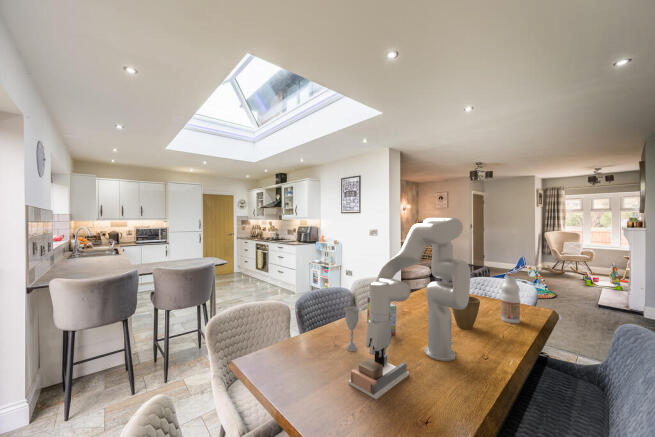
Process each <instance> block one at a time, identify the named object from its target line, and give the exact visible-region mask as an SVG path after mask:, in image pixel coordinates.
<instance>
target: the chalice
mask: <svg viewBox="0 0 655 437" xmlns="http://www.w3.org/2000/svg"><path fill="white" fill-rule="evenodd" d="M360 310H361V309H360V308H359V307H356V306H345V307H344V311H345V322H346V325H347V327H348V329H349V330H350V333H349V334H350V337H349V339H350V341H349V342H348V343H347V346H346V348H345V349H346V350H347V351H349V352H356V351H357V350H358V348H357V347H358V346H357V345H356V343H355V342H354V330H355V329H356V327H357V325H358V323H359V312H360Z"/></svg>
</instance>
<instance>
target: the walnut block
mask: <svg viewBox="0 0 655 437" xmlns="http://www.w3.org/2000/svg"><path fill="white" fill-rule="evenodd" d="M358 369H359V372H361V373H363V374H364V375H366V376H368V377H370V378H372V379H374V380H377V379H379V378H380V377H382V376H383V365H381V364H379V363H377V362H375V361H374V360H372V359H370V358H368V359H366V360H365V361H363V362H361V363H359V364H358Z"/></svg>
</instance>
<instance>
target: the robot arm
mask: <svg viewBox="0 0 655 437" xmlns="http://www.w3.org/2000/svg"><path fill="white" fill-rule="evenodd" d="M463 229H464V226H463V223H462V221H461V220H460V219H459V218H457V217H427V218H424V220H423V221H422V223H421V222H420V223H414V224H412V226H411V227H410V229H409V230H408V233H407V235H406V237H405V239H404V242H403V244H402V245H401V248H400V250H399V252H398V253H397V254H395V255H394V256H393V257H391V258H390V259H389V260H388V261H387V262H386V263H385V264H384V265H383V266H382V267H381V269H380V271H379V274H378V275H377V278H376V280H375V281H373V282H371V283H370V284H369V296H370V320H369V322H367V327H366V337H365V338H366V339H365V346H366V348H367V349H369V354H370V355H373V356H374V360H375V362H377V363H379V364H381V365H383V367H384V356H385V354H386V351H387V348H389V346H390V345H391V343H392V335H391V323H390V303H392V302H395V303H396V302H397V303H398V302H404V301H407V300H408V299H409V298H410V296H411V293H412V291H411V288H410V286H409V284H408V283H406V282H404V281H401V280H398V279H395V278H394V277H395V276H396V275H397V274H398V272H400V271H401V270H403V269H406V268H409V267H410V268H411V267H412V266H415V265H417V264H419V263H420V262H421V259H422V257H423V255H424V252H425V250H426V248H427V245H431V247H432V252H431V265H430V266H431V268H430V269H431V270H430V271H431V272H430V273H431V274H432V276H433V277H435V278H437V279H440V280H445V281H450V282H452V284H451V283H448V282H444V281H443V282H442V281H437V280H434V281H431V282H429V283H428V284H427V285H426V288H425V297H426V302H427V310H428V312H427V314H428V315H427V316H428V317H427V319H428V320H427V346H425V347H424V350H423V351H424V352H423V353H424V355H426V356H427V357H429V358H431V359H432V360H436V361H441V362H450V361H453V360H455V359H456V353H455V351H453V350H452V345H453V344H454V342H453V340H452V327H453V326H452V321H453V320H452V312H451V310H450V308H451V309H452V308H454V309H459V310H462V309H465V308H466V306H467V305H468V301H469V296H470V293H471V292H470V290H471V289H470V288H471V268H470V265H469V264H468V262H467V261H465V260H464V259H458V258H454V245H453V243H452V241H454V240H456V239H458V238H459V237H460V236H461V234H462V233H463V231H464V230H463Z"/></svg>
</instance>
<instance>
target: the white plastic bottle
mask: <svg viewBox="0 0 655 437" xmlns="http://www.w3.org/2000/svg"><path fill="white" fill-rule="evenodd" d="M500 288H501V295H500V319H501V320H502V321H503V322H504V323H505V322H506V323H508V324H519V323H520V322H521V299H520V298H521V297H520V290H521V289H520V287H519V284H518V283H517V281H516V274H515V273H512V272H505V278H504V280H503V283H502V285H501V287H500Z"/></svg>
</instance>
